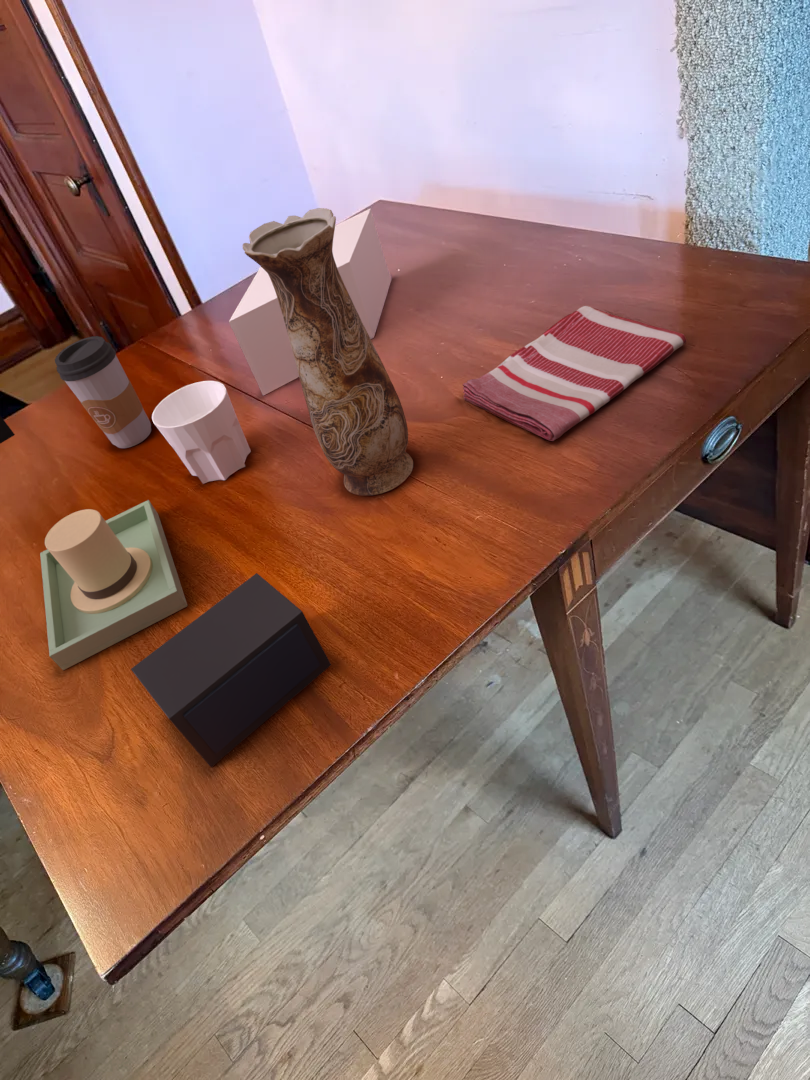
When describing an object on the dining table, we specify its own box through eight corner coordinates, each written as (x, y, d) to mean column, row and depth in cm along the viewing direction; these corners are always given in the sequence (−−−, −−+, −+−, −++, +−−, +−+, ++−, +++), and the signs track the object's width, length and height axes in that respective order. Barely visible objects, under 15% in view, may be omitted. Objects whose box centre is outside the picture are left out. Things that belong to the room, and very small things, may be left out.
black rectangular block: (212, 769, 66) (170, 720, 61) (172, 717, 71) (130, 668, 66) (333, 666, 71) (303, 612, 65) (287, 625, 76) (256, 572, 71)
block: (224, 389, 117) (188, 317, 108) (353, 277, 134) (330, 209, 126) (305, 403, 107) (272, 326, 99) (432, 281, 125) (414, 207, 116)
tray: (187, 606, 82) (176, 590, 81) (63, 670, 80) (49, 656, 78) (158, 514, 97) (148, 499, 95) (51, 566, 94) (39, 552, 93)
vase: (343, 511, 87) (238, 268, 67) (331, 460, 95) (235, 230, 75) (427, 481, 87) (347, 229, 67) (409, 433, 95) (332, 195, 75)
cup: (269, 455, 100) (239, 393, 93) (207, 497, 96) (172, 436, 90) (234, 432, 106) (204, 373, 100) (175, 471, 103) (139, 412, 96)
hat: (135, 609, 83) (94, 556, 78) (59, 618, 86) (14, 567, 80) (163, 545, 90) (127, 493, 85) (92, 556, 93) (53, 505, 87)
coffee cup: (97, 455, 112) (39, 370, 102) (124, 421, 118) (71, 337, 108) (143, 451, 109) (88, 363, 99) (168, 417, 115) (118, 330, 105)
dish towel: (461, 401, 97) (456, 384, 95) (587, 315, 104) (585, 298, 102) (554, 447, 85) (551, 428, 83) (689, 347, 92) (689, 327, 90)
